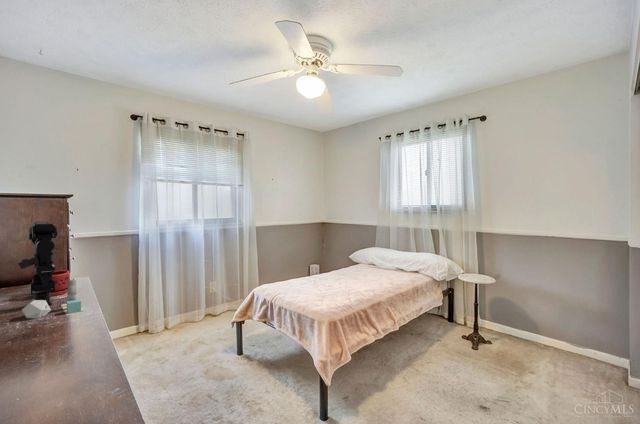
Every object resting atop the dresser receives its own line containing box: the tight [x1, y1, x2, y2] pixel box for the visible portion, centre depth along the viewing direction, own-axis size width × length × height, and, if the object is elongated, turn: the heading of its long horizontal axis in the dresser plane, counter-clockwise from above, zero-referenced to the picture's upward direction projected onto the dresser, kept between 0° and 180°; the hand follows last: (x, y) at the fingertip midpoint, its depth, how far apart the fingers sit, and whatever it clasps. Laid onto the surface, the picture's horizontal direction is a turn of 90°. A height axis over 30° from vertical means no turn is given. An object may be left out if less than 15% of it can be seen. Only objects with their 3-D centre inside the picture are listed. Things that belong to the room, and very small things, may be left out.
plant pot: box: [50, 269, 71, 297], centre depth 163 cm, size 13×13×12 cm
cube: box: [66, 299, 82, 314], centre depth 133 cm, size 4×4×4 cm
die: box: [21, 299, 52, 319], centre depth 127 cm, size 8×9×10 cm
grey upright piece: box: [60, 279, 85, 316], centre depth 137 cm, size 20×6×14 cm, turn 47°
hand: (44, 284), depth 134 cm, fingers open, 9 cm apart
